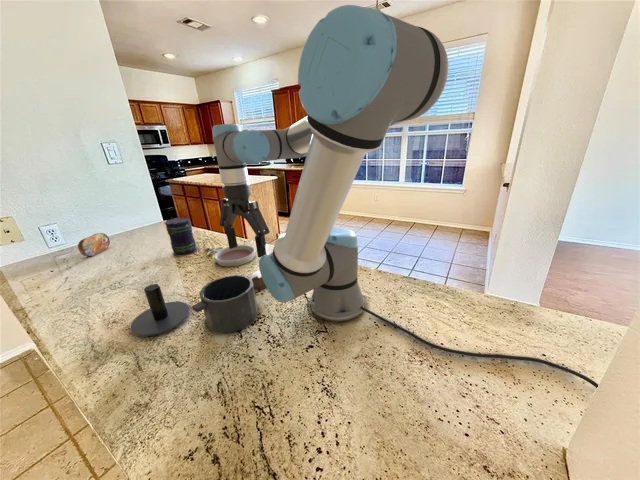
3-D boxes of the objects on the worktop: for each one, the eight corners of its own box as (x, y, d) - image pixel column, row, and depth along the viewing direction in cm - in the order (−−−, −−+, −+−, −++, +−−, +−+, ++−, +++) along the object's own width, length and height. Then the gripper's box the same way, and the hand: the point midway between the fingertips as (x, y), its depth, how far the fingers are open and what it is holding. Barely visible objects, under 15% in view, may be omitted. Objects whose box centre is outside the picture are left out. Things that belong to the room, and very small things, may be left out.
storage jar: (182, 247, 127) (174, 217, 121) (201, 247, 125) (194, 217, 120) (168, 255, 117) (159, 224, 112) (188, 256, 116) (180, 223, 111)
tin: (87, 258, 119) (80, 241, 116) (80, 259, 119) (73, 241, 116) (112, 246, 133) (106, 230, 130) (106, 246, 134) (100, 230, 130)
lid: (200, 315, 75) (192, 282, 72) (145, 346, 65) (132, 310, 61) (175, 299, 84) (166, 269, 80) (123, 325, 73) (109, 292, 69)
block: (271, 284, 90) (269, 272, 88) (261, 290, 86) (259, 278, 85) (262, 280, 92) (260, 269, 91) (252, 286, 89) (250, 274, 87)
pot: (274, 307, 77) (270, 278, 74) (217, 347, 63) (209, 314, 60) (244, 293, 85) (239, 267, 81) (188, 326, 71) (179, 296, 67)
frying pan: (220, 239, 127) (263, 247, 113) (222, 245, 128) (264, 254, 114) (188, 252, 114) (232, 263, 99) (190, 258, 115) (234, 270, 100)
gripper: (276, 183, 71) (284, 254, 79) (220, 179, 85) (232, 240, 92) (255, 188, 65) (266, 264, 73) (199, 183, 79) (213, 248, 87)
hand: (247, 251), depth 83 cm, fingers open, 13 cm apart
